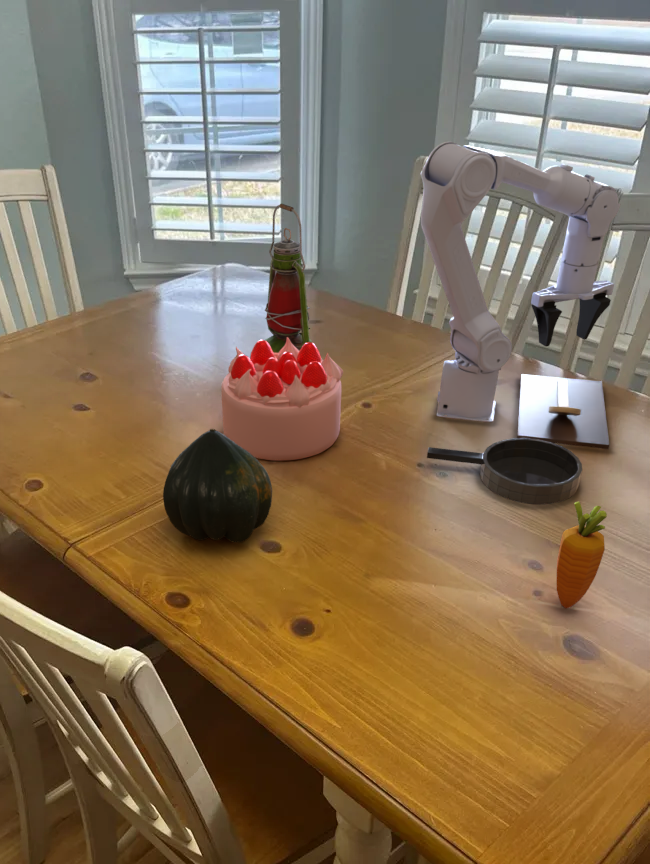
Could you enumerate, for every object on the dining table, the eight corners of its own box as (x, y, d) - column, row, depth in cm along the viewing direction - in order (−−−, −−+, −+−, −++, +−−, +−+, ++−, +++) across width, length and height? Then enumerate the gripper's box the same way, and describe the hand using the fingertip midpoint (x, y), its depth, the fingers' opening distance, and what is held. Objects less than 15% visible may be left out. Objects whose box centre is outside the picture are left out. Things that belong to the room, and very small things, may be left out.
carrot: (538, 596, 102) (562, 495, 94) (576, 593, 103) (604, 492, 94) (553, 622, 98) (580, 520, 90) (593, 619, 99) (624, 517, 90)
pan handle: (426, 458, 126) (427, 452, 125) (428, 452, 127) (428, 446, 127) (482, 464, 124) (483, 459, 123) (483, 458, 125) (484, 453, 125)
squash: (222, 547, 104) (258, 434, 104) (130, 518, 111) (164, 413, 111) (268, 562, 116) (300, 462, 117) (183, 535, 123) (213, 441, 124)
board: (516, 441, 134) (517, 435, 133) (520, 380, 152) (521, 374, 152) (607, 451, 130) (609, 445, 130) (600, 387, 149) (601, 381, 148)
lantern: (330, 370, 158) (335, 208, 141) (285, 384, 154) (284, 218, 136) (289, 347, 168) (289, 192, 150) (245, 359, 164) (240, 202, 146)
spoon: (582, 414, 133) (589, 370, 132) (549, 410, 134) (556, 367, 133) (570, 420, 147) (577, 381, 147) (541, 417, 149) (547, 378, 148)
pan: (476, 499, 120) (479, 479, 118) (482, 452, 131) (485, 433, 129) (578, 512, 117) (583, 492, 115) (576, 463, 128) (580, 443, 126)
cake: (221, 409, 146) (217, 333, 138) (332, 403, 147) (335, 327, 139) (226, 465, 130) (221, 383, 122) (350, 458, 131) (354, 376, 123)
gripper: (556, 274, 128) (540, 356, 136) (633, 262, 131) (613, 342, 139) (530, 261, 133) (516, 340, 141) (604, 250, 137) (587, 328, 145)
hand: (562, 340), depth 141 cm, fingers open, 7 cm apart
